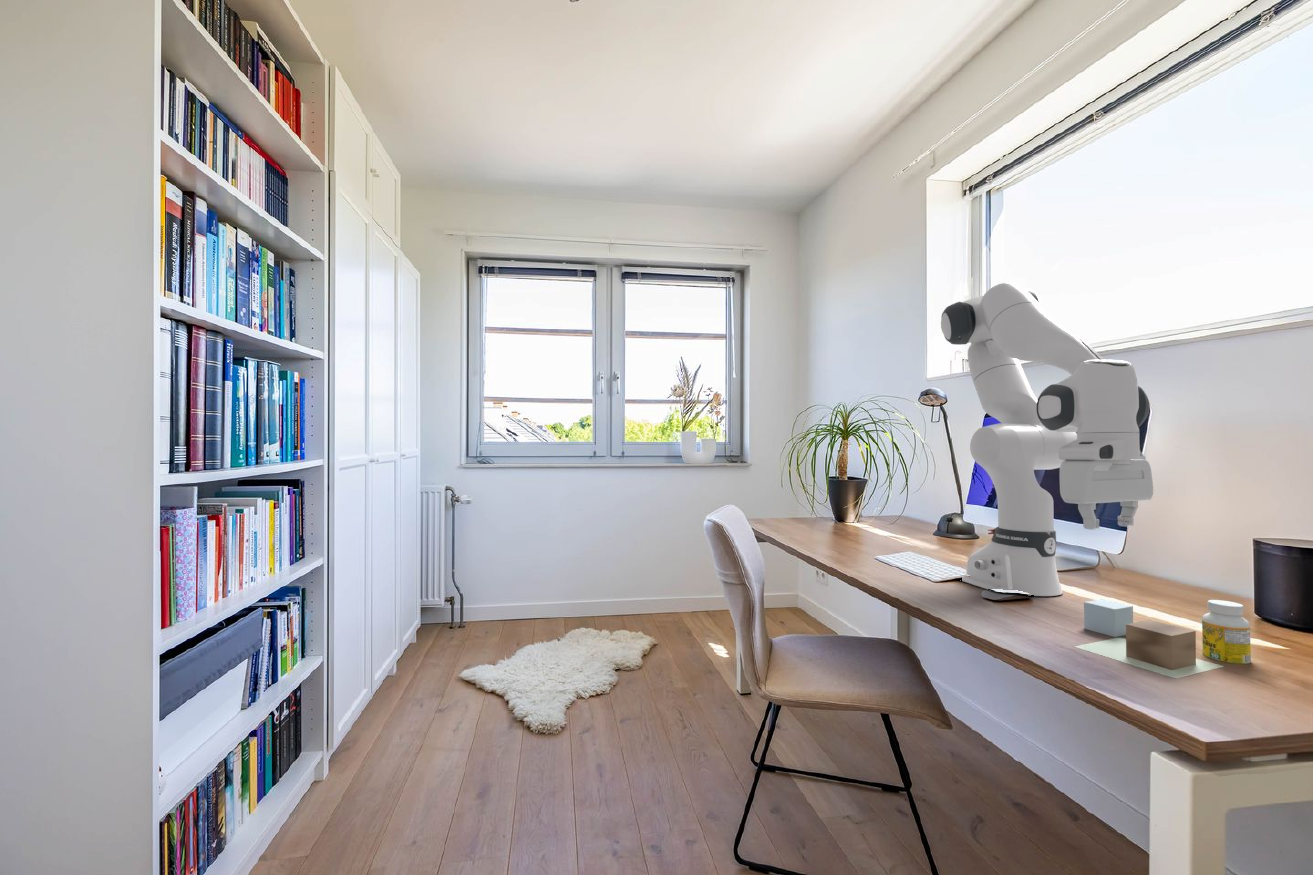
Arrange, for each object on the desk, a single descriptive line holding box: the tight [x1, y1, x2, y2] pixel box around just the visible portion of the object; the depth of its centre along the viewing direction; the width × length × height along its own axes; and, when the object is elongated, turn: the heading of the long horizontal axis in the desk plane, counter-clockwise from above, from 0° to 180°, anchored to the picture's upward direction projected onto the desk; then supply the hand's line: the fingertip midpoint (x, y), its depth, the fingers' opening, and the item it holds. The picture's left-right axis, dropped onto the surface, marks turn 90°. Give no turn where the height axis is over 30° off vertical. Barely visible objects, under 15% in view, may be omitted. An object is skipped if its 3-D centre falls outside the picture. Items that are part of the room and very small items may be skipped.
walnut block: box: [1125, 619, 1197, 670], centre depth 90 cm, size 6×6×5 cm
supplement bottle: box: [1201, 599, 1252, 665], centre depth 91 cm, size 5×5×10 cm
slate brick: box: [1083, 598, 1134, 638], centre depth 104 cm, size 5×5×6 cm
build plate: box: [1073, 636, 1225, 680], centre depth 92 cm, size 14×12×1 cm
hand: (1108, 527), depth 104 cm, fingers open, 8 cm apart
